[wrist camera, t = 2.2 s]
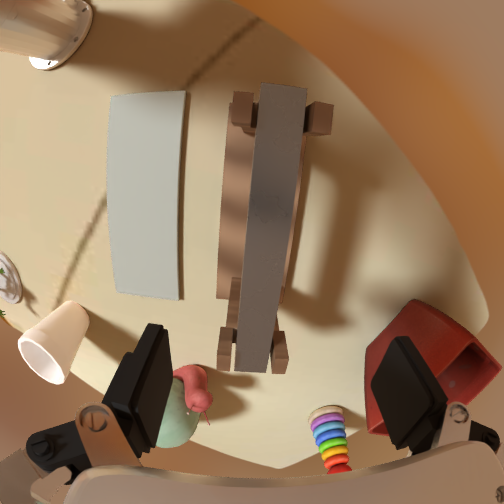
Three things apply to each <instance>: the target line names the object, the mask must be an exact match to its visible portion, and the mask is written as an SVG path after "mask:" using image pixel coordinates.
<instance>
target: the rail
mask: <svg viewBox="0 0 504 504" xmlns="http://www.w3.org/2000/svg"><path fill="white" fill-rule="evenodd" d="M306 96H307V89H306V88H300V87H293V86H286V85H279V84H271V83H262V82H261V86H260V92H259V101H258V111H257V121H256V130H255V140H254V150H253V161H252V171H251V181H250V192H249V202H248V213H247V223H246V234H245V245H244V256H243V267H242V279H241V290H240V301H239V313H238V325H237V337H236V349H235V366H234V371H241V372H259V373H266V369H267V364H268V359H269V353H270V348H271V343H272V337H273V332H274V326H275V321H276V315H277V310H278V304H279V298H280V292H281V286H282V280H283V274H284V268H285V261H286V255H287V248H288V242H289V235H290V228H291V221H292V214H293V207H294V200H295V192H296V185H297V177H298V169H299V161H300V152H301V144H302V135H303V126H304V116H305V106H306Z"/></svg>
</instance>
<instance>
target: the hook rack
mask: <svg viewBox="0 0 504 504" xmlns="http://www.w3.org/2000/svg"><path fill="white" fill-rule="evenodd" d="M253 96H254V93H248V92H234V96H233V103H230V106H229V116H228V126H227V137H226V148H225V159H224V172H223V185H222V199H221V214H220V230H219V248H218V268H217V292H216V298H217V299H228V300H229V304H228V313H227V322H226V327H221V328H220V336H219V343H218V350H217V370H220V371H230V363H231V350H232V343H236V337H237V325H238V313H239V301H240V290H241V279H242V267H243V256H244V245H245V234H246V223H247V213H248V202H249V192H250V181H251V171H252V161H253V150H254V140H255V130H256V121H257V111H258V103H253ZM333 107H334V105H331V104H326V103H321V102H316V101H315V102H314V103H312V104H310V105H309V106H307V107H305V116H304V126H303V135H302V144H301V152H300V161H299V169H298V177H297V185H296V192H295V200H294V207H293V214H292V221H291V228H290V235H289V242H288V248H287V255H286V261H285V268H284V274H283V280H282V286H281V292H280V298H279V303H282V301H283V295H284V289H285V284H286V278H287V272H288V266H289V260H290V253H291V247H292V241H293V234H294V227H295V221H296V214H297V207H298V200H299V192H300V185H301V177H302V169H303V161H304V153H305V145H306V136H307V135H313V136H321V135H331V127H332V117H333ZM270 357H271V368H272V374H285V372H286V368H287V365H288V361H289V356H288V350H287V344H286V338H285V333H284V331H279V326H278V319H277V315H276V321H275V326H274V332H273V337H272V343H271V348H270Z"/></svg>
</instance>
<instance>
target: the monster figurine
mask: <svg viewBox="0 0 504 504" xmlns="http://www.w3.org/2000/svg"><path fill="white" fill-rule="evenodd" d="M21 295H22V287H21V282H20V278H19V276H18V273H17V271H16V269H15V267H14V265H13V263H12V262H11V260H10V259H9V258H8V257H7V255H6V254H4V253H3V252H2V251H0V296H1V297H2V298H3V299H4V300H5V301H7V302H9V303H12V304H14V303H16V302H18V301H19V300H20V298H21ZM2 312H5V311H1V310H0V316H1V317H3V316H2V315H6V314H2ZM1 314H2V315H1ZM3 318H4V317H3Z"/></svg>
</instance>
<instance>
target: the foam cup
mask: <svg viewBox="0 0 504 504" xmlns="http://www.w3.org/2000/svg"><path fill="white" fill-rule="evenodd" d="M89 324H90V321H89V316H88V314H87V313H86V311H85V310H84V309H83V308H82V307H81V306H80V305H79V304H78V303H76V302H74V301H66V302H65V303H63V304H62V305H61V306H59V307H58V308H57V309H55V310H54V311H53V312H52V313H50V314H49V315H48V316H46V317H45V318H44V319H43V320H41V321H40V322H39V323H38V324H36V325H35V326H34V327H33V328H29V329H28V330H27V331H26V332H25V333H24V334H23V336H21V338H20V339H19V340H18V348H19V350H20V353H21V355H22V357H23V359H24V360H25V361H26V363H27V364H28V365H29V367H30V368H31V369H32V370H33V371H35V372H36V373H37V374H38V375H39V376H41V377H42V378H43V379H45V380H47V381H49V382H51V383H54V384H61V383H63V382H64V381H65V379H66V378H67V376H68V374H69V372H70V368H71V365H72V362H73V360H74V358H75V355H76V353H77V351H78V348H79V346H80V344H81V342H82V340H83V338H84V335H85V333H86V331H87V329H88V327H89Z"/></svg>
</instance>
